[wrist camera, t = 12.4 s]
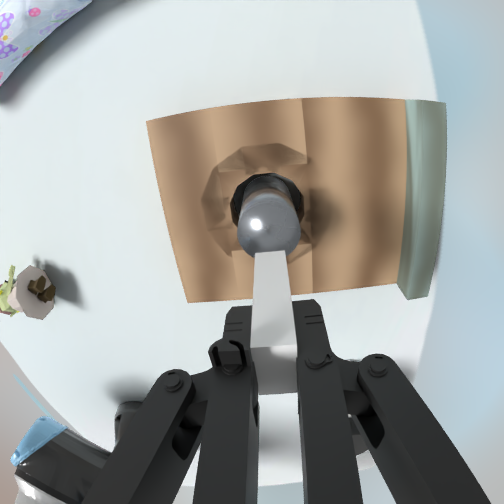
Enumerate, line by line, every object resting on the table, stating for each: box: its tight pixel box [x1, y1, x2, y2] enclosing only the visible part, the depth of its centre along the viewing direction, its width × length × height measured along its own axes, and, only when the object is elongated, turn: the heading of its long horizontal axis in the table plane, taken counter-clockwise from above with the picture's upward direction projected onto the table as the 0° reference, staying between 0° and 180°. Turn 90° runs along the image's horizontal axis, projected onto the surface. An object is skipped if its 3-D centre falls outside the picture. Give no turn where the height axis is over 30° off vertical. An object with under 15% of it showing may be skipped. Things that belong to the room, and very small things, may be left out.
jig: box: [146, 97, 447, 303], centre depth 25 cm, size 24×18×6 cm
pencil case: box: [0, 0, 92, 86], centre depth 15 cm, size 21×9×10 cm, turn 113°
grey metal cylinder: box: [237, 176, 301, 258], centre depth 24 cm, size 4×4×8 cm
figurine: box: [0, 265, 56, 320], centre depth 31 cm, size 9×7×15 cm
